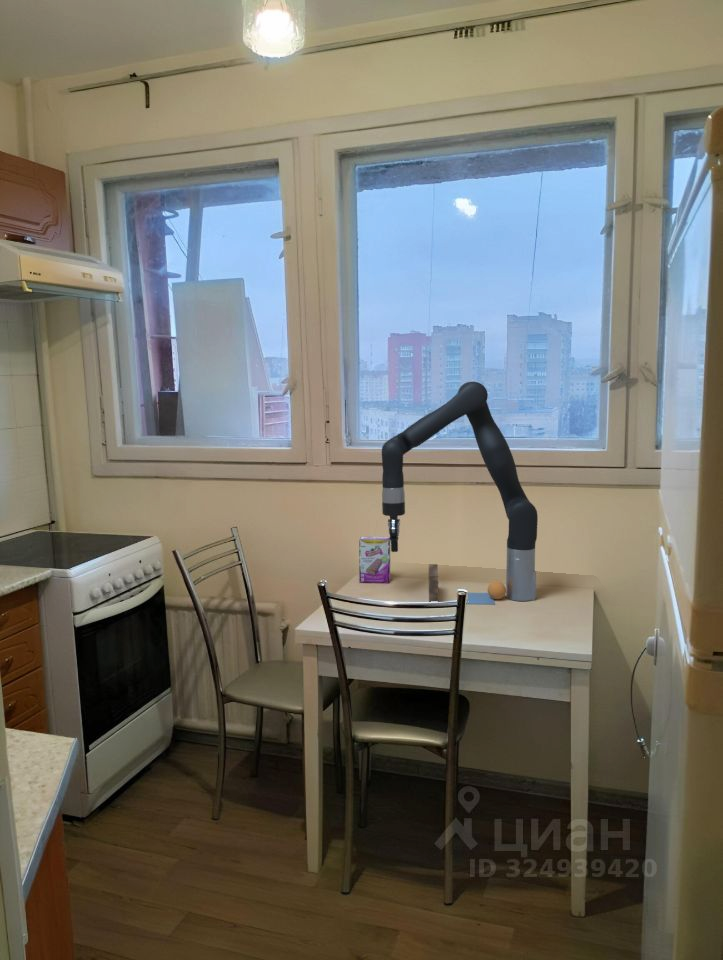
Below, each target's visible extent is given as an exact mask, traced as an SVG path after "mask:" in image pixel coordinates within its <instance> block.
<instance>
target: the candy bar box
mask: <svg viewBox="0 0 723 960" xmlns="http://www.w3.org/2000/svg"><path fill="white" fill-rule="evenodd" d="M358 541H359V547H358V548H359V551H358V552H359V558H358V559H359V560H358V561H359V566H358V567H359V570H358V571H359V574H358V575H359V576H358V577H359V583H364V584H366V583H367V584H373V583H374V584H389V583H390V581H391V540H390V536H360V537H359V539H358Z"/></svg>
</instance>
